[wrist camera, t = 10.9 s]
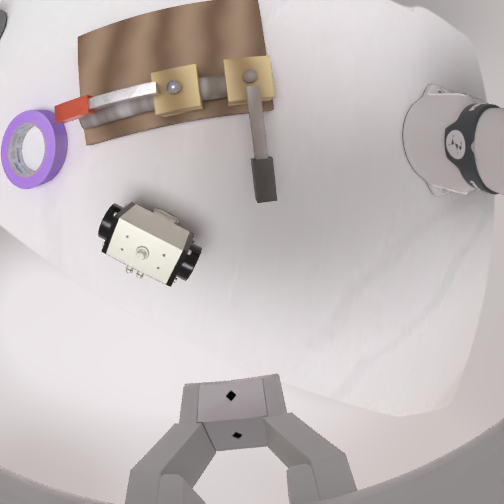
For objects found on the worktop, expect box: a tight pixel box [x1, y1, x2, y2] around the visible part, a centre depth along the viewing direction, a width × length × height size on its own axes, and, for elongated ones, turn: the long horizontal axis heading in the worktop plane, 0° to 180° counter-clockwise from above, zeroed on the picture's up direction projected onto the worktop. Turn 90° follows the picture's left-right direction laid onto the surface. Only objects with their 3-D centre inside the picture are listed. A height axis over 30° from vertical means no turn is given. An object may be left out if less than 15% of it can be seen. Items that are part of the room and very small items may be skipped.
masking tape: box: [1, 110, 67, 189], centre depth 32 cm, size 12×12×4 cm
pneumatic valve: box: [98, 202, 202, 287], centre depth 34 cm, size 6×12×12 cm, turn 60°
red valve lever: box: [55, 80, 181, 123], centre depth 25 cm, size 2×14×3 cm, turn 94°
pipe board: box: [78, 0, 277, 203], centre depth 29 cm, size 25×27×10 cm
